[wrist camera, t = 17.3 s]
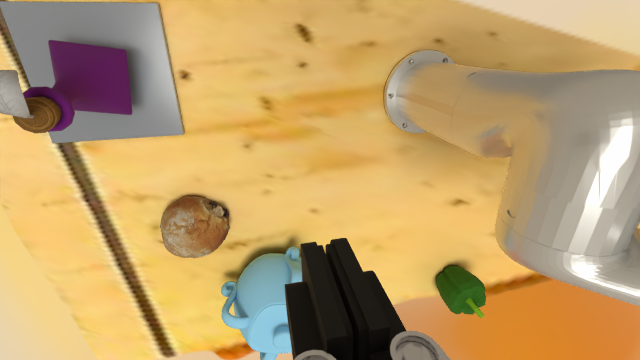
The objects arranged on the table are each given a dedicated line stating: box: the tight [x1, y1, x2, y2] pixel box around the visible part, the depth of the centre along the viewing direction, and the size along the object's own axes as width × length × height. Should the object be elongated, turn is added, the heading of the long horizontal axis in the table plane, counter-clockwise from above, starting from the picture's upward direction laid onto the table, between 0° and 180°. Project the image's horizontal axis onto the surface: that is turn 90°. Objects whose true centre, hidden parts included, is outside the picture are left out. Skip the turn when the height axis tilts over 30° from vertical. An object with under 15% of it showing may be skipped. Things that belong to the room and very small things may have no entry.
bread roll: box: [160, 196, 230, 258], centre depth 48 cm, size 10×10×8 cm
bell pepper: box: [436, 266, 486, 318], centre depth 63 cm, size 8×8×10 cm
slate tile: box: [0, 2, 185, 143], centre depth 39 cm, size 16×16×1 cm
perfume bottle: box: [0, 40, 132, 133], centre depth 30 cm, size 8×8×18 cm
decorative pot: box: [221, 247, 302, 360], centre depth 52 cm, size 16×16×14 cm
